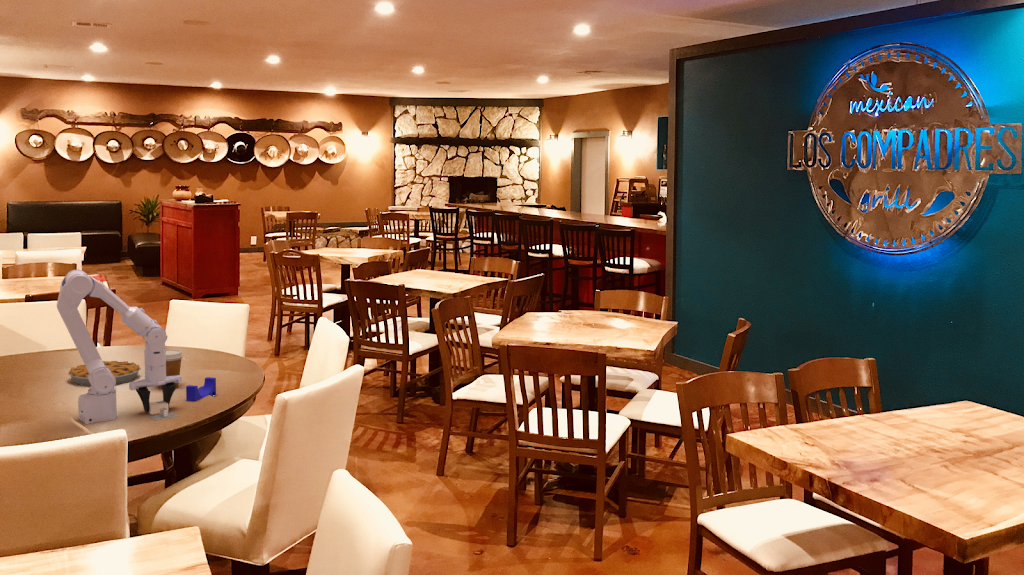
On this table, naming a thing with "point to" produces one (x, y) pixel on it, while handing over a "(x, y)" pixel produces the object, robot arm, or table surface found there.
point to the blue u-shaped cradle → (201, 390)
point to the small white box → (157, 406)
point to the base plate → (158, 417)
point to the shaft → (163, 412)
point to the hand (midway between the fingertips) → (156, 409)
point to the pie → (119, 370)
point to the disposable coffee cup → (173, 364)
